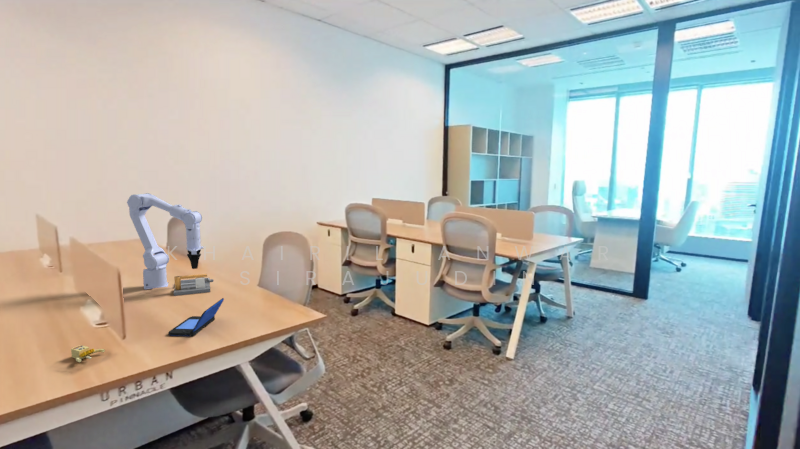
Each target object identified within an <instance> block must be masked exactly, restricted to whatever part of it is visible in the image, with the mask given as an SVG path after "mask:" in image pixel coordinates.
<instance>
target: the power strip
mask: <svg viewBox="0 0 800 449" xmlns="http://www.w3.org/2000/svg"><path fill="white" fill-rule="evenodd" d="M206 293H211V283H210V284H205V288H197V289H196V285H190V286H181V289H180V290H175V288H174V290H173V296H174V297H176V296H177V297H178V296H184V295H185V296H187V295H195V294H206Z"/></svg>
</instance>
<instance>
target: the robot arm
mask: <svg viewBox="0 0 800 449" xmlns="http://www.w3.org/2000/svg"><path fill="white" fill-rule="evenodd" d="M126 204H127V207H128V208H129V209H128V213H129V217H130V219H131V221H132V224H133V226H134V228H135V231H136V232H137V235H138V237H139V239H140V241H141V244H142V247H143V249H144V253H143V254H142V258H143V264H144V267H145V268H144V269H143V270H142V271H143V272H142V275H143V276H142V277H143V290H153V289H156V288H157V289H160V288H167V287H169V282H168V279H167V276H168V274H167V264H168V263H169V261H170V256H169V255H168V254H167V253H166V252H165V250H164V249H163V248H162V247H160V246H159V245H158V243H157V240H156V239H155V235H154V233H153V231H152V229H151V227H150V224H149V222H148V220H147V217H146V213H147V212H148V211H149V210H150V209H151V208H152V207H156V208H158V209H161V210H163V211H165V212H167V213H169V215H170V217H173V218H175V219H177V220H180V221H181V222H183V224H184V226H185V232H186V233H185V234H186V236H185V237H186V251H187V253H186V256H187V258H188V259H189V262H190V266H191V269H192V270H195V269H196V270H197V269H198V267H199V262H200V258H201V255H202V253H201V250H202V249H204V246H203V245H202V244H201V242H202V241H201V227H200V226H201V225H200V223H201V222H202V220H203V217H202V214H201V213H200V212H198V211H197V210H195V211H192V210H191V209H190V208H189V209H188V208H186V207H183V205H182V204H174V205H173V204H172V203H168V202H167V201H165V200H163V199H161V198H160V197H157V195H154V194H152V193H148V192H147V193H141V194H131V195H130V196H129V198H127V201H126Z"/></svg>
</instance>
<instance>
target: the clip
mask: <svg viewBox="0 0 800 449" xmlns="http://www.w3.org/2000/svg"><path fill="white" fill-rule="evenodd" d="M198 277H204V278H208V273H199V274H187V275H177V276H174V289H175V290H180V289H181V280H188V279H196V278H198Z"/></svg>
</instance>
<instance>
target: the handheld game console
mask: <svg viewBox="0 0 800 449" xmlns="http://www.w3.org/2000/svg"><path fill="white" fill-rule="evenodd" d="M224 300H225V298H224V297H222V298H221V299H220V300H218V301H217V302H215V303H214V304H213V305H211V306H210V307H208V308H207V309H205V310H204V311H203V313H202V314H201V315H200V316H199V315H196V316H195V315H192V316H189V317H188V318H186V319H185V320H183V321H182V322H181V323H179V324H177V325H176V326H174V327H173V328H172V329H170V330H168V332H167V333H168V335H169V336H171V337H191V338H193V337H195V336H196V335H197V334H198V333H200V332H201V331H202V330H203V328H206V327H208V325H210V324H211V323H212V322H214V321H215V320H216V317H215V316H216V314H217V312H218V311H219V309H220V307H221V306H222V304H223V302H224Z"/></svg>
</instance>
